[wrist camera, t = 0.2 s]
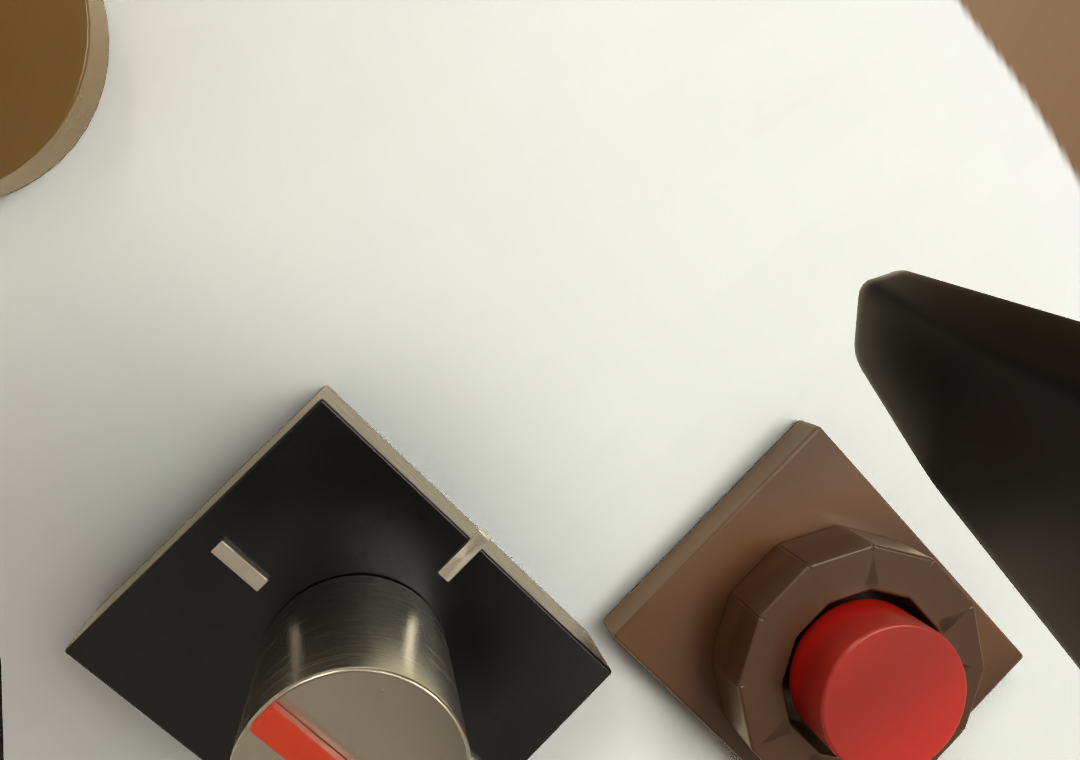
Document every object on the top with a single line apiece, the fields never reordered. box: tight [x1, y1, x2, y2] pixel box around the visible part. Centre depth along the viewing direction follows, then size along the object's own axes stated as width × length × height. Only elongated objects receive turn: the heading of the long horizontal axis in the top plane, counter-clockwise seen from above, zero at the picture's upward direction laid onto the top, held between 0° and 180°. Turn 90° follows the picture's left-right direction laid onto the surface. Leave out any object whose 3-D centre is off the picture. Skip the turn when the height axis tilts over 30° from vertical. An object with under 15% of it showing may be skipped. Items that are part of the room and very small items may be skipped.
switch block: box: [604, 420, 1023, 760], centre depth 24 cm, size 10×8×3 cm
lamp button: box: [789, 599, 967, 760], centre depth 23 cm, size 4×4×2 cm
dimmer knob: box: [230, 575, 471, 760], centre depth 18 cm, size 4×4×5 cm
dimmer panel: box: [65, 386, 611, 760], centre depth 22 cm, size 10×9×3 cm
